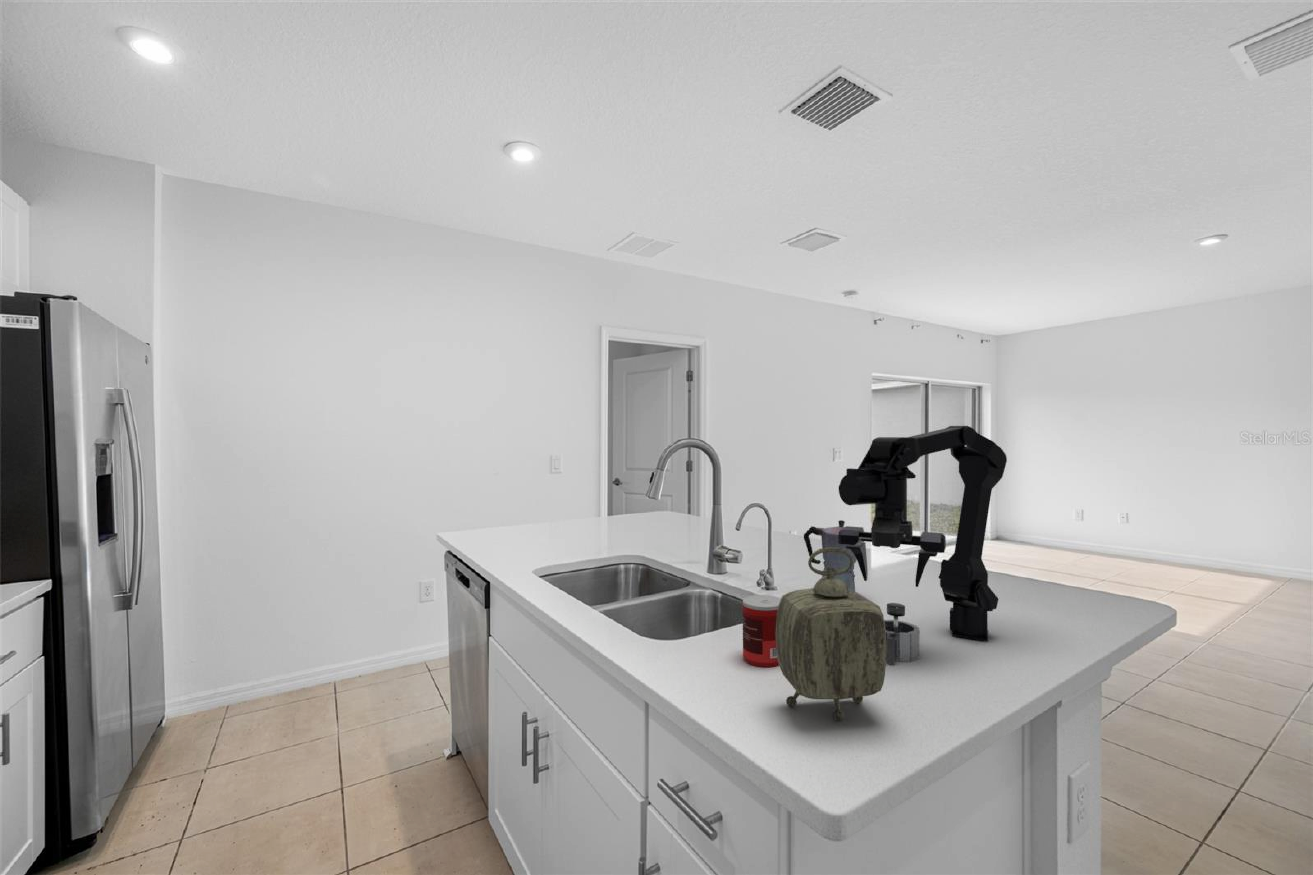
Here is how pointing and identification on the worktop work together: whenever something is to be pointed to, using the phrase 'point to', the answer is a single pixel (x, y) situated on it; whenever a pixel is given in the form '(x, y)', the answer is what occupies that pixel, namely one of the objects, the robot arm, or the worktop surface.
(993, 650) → the worktop surface
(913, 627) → the press carafe
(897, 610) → the plunger
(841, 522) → the moka pot
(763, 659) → the canned food
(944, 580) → the robot arm
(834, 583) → the tabletop clock
